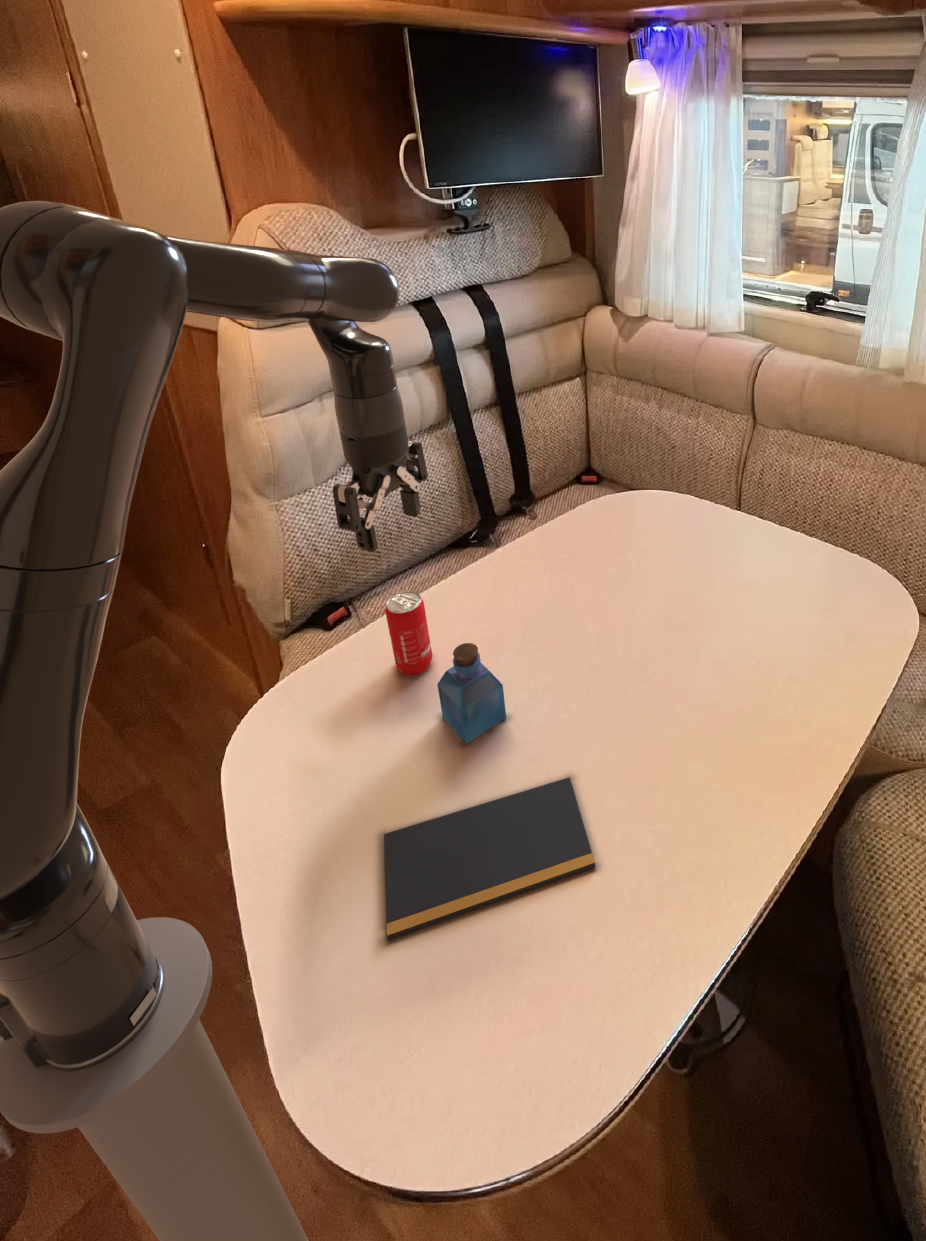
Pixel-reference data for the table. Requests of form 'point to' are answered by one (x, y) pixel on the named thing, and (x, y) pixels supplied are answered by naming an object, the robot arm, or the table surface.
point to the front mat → (483, 856)
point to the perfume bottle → (470, 695)
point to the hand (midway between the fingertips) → (391, 531)
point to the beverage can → (409, 632)
